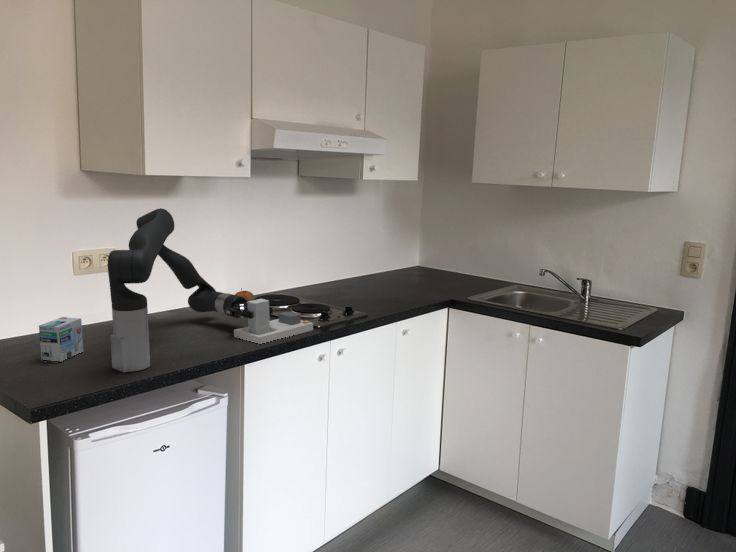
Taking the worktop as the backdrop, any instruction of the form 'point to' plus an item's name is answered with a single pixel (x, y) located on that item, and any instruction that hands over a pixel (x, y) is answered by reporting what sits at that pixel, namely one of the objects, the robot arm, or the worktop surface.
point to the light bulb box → (61, 338)
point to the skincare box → (259, 317)
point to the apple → (245, 295)
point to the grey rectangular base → (277, 328)
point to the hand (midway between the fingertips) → (262, 313)
